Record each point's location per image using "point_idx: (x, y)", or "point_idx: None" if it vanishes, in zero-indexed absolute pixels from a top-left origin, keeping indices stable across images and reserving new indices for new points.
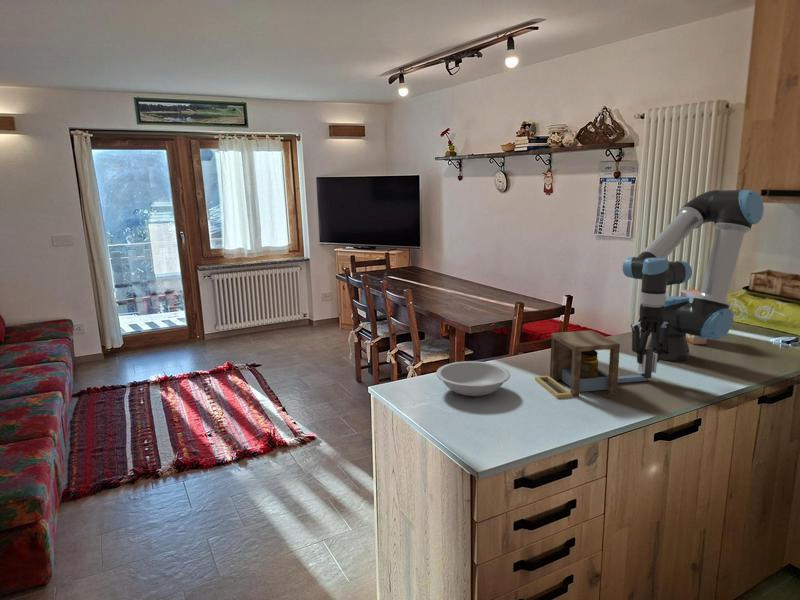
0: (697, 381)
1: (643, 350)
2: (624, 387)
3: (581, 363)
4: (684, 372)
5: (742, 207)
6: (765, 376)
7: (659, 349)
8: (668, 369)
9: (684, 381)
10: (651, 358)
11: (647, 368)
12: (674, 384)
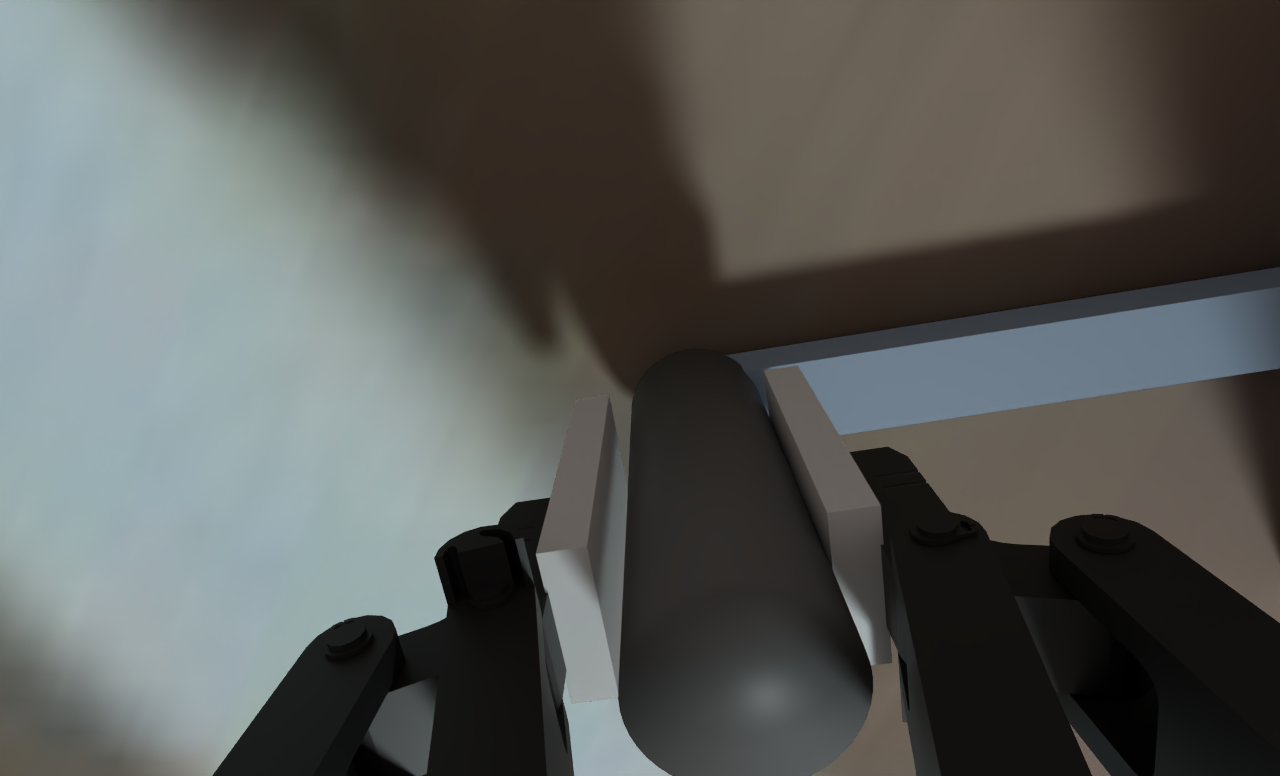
0: (51, 318)
1: (941, 578)
2: (1112, 149)
3: None
4: (118, 615)
5: None
6: None
7: (469, 638)
8: None
9: (218, 327)
10: (685, 480)
11: (732, 402)
12: (388, 226)
